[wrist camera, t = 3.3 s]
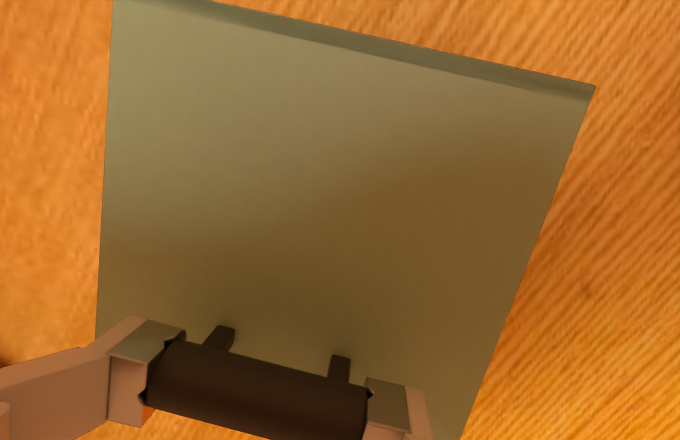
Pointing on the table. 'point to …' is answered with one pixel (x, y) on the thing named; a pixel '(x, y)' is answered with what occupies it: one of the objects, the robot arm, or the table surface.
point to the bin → (318, 212)
